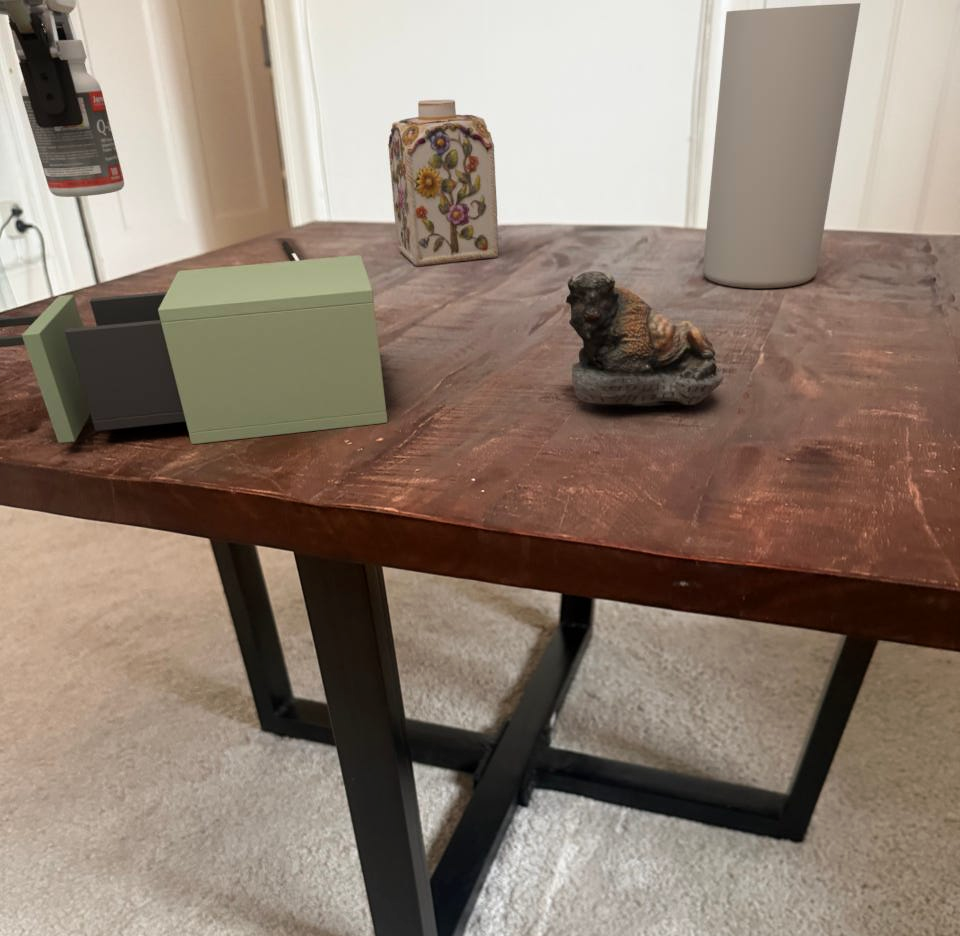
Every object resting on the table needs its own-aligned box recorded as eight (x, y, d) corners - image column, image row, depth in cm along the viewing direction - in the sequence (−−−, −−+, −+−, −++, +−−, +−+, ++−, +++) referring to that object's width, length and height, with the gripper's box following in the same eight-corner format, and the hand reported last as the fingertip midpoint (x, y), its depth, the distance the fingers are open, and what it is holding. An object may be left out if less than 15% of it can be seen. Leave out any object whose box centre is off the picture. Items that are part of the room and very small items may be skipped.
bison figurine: (703, 385, 70) (716, 252, 65) (734, 415, 65) (752, 271, 59) (557, 398, 70) (558, 264, 64) (576, 430, 64) (577, 285, 58)
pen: (296, 270, 114) (295, 261, 113) (281, 245, 129) (280, 237, 129) (303, 270, 114) (302, 260, 114) (287, 245, 129) (286, 237, 129)
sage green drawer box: (191, 444, 65) (157, 309, 60) (205, 390, 76) (177, 270, 70) (387, 422, 67) (372, 289, 61) (374, 372, 77) (361, 254, 72)
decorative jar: (396, 251, 122) (382, 101, 112) (476, 242, 124) (469, 94, 114) (414, 268, 113) (400, 105, 102) (500, 258, 115) (494, 98, 105)
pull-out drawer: (-23, 452, 63) (-67, 342, 59) (18, 400, 73) (-17, 302, 68) (245, 423, 66) (222, 315, 61) (251, 376, 75) (232, 280, 71)
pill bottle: (131, 192, 68) (94, 38, 62) (55, 200, 66) (9, 42, 60) (119, 184, 72) (83, 40, 67) (47, 192, 70) (3, 43, 65)
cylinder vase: (736, 261, 107) (765, 10, 93) (835, 272, 99) (882, 2, 85) (681, 281, 100) (702, 12, 85) (782, 295, 92) (824, 4, 78)
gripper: (-41, -172, 63) (42, 119, 73) (-131, -236, 49) (-12, 135, 59) (67, -174, 64) (134, 113, 74) (10, -237, 50) (103, 127, 60)
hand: (68, 120), depth 66 cm, fingers closed on pill bottle, 5 cm apart
